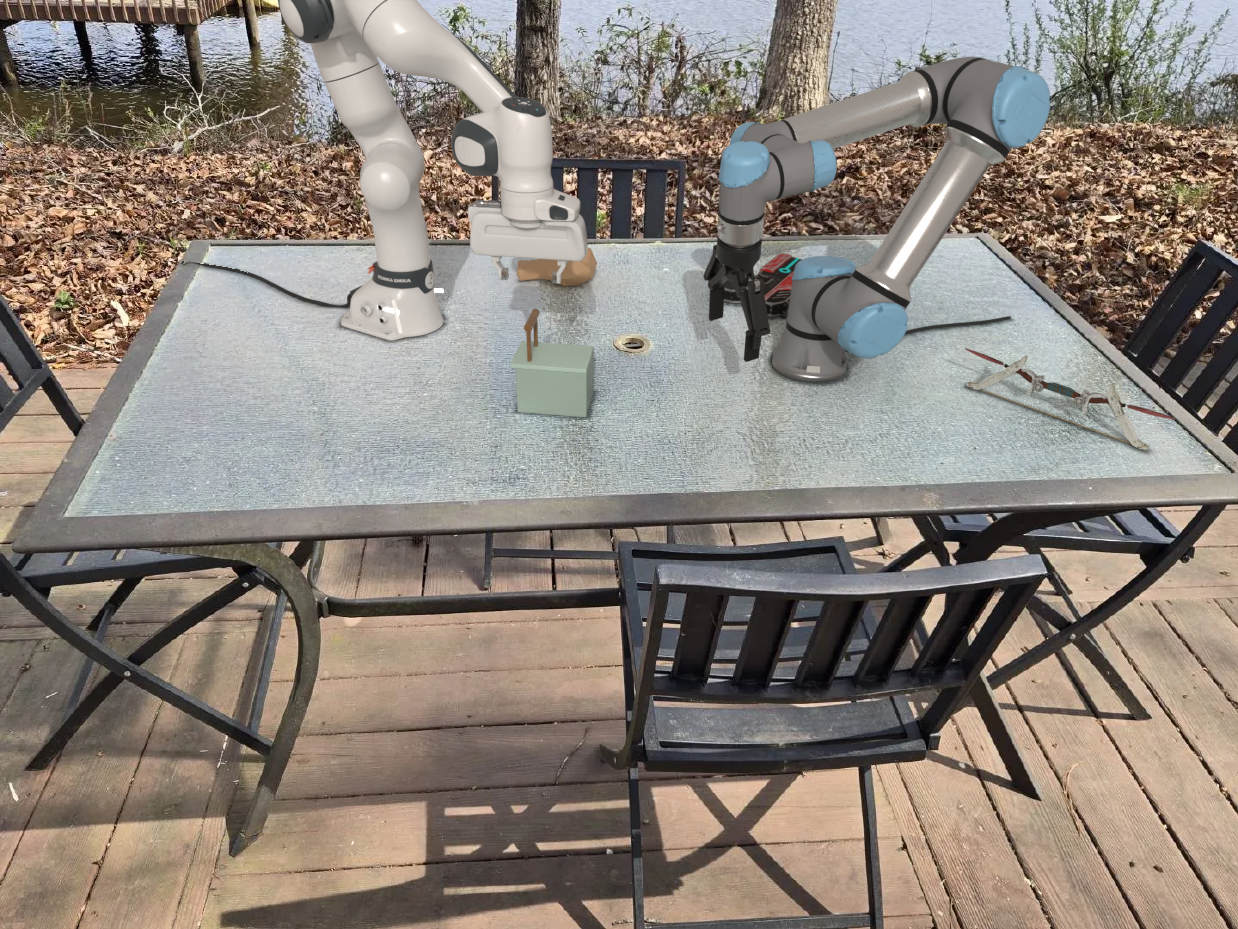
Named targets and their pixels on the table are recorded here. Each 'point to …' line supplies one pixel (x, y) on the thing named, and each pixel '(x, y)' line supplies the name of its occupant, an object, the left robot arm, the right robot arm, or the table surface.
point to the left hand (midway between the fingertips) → (530, 280)
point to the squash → (544, 268)
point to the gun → (772, 284)
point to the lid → (550, 352)
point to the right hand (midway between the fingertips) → (733, 338)
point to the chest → (555, 391)
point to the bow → (1079, 399)
